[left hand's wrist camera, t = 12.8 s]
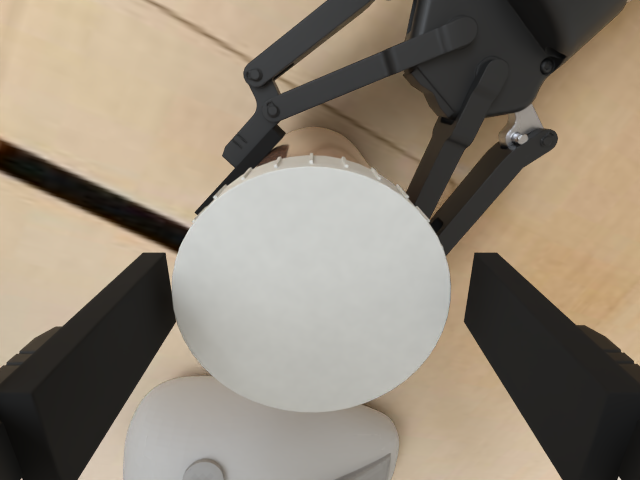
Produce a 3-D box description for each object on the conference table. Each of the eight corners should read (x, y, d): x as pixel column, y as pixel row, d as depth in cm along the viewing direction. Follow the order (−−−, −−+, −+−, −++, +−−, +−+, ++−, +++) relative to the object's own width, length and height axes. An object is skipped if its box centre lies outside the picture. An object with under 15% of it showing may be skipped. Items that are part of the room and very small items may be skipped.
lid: (206, 123, 12) (186, 129, 10) (471, 186, 13) (498, 203, 11) (176, 352, 16) (156, 389, 14) (393, 392, 16) (403, 432, 14)
